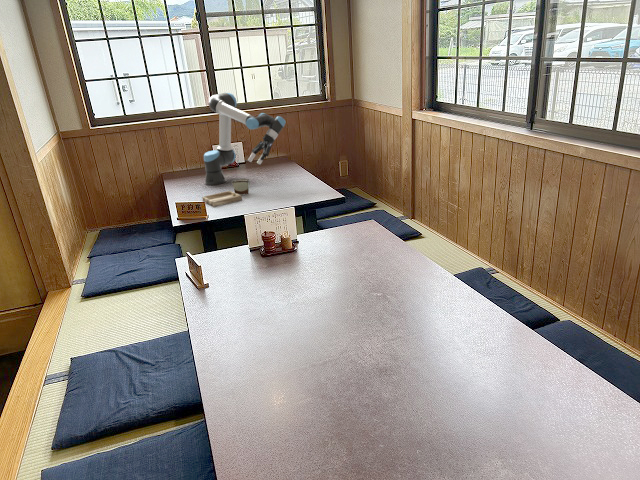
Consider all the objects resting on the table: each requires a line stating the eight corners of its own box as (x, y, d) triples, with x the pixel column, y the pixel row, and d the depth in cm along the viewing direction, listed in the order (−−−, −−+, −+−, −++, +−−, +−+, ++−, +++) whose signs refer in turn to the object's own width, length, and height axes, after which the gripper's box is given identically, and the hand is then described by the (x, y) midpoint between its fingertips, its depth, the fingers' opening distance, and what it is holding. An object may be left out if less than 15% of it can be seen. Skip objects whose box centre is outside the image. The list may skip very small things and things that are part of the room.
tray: (202, 201, 319) (202, 196, 318) (230, 194, 329) (229, 190, 328) (213, 206, 305) (212, 202, 304) (242, 200, 315) (241, 195, 314)
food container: (252, 191, 333) (250, 177, 330) (250, 194, 328) (248, 179, 324) (235, 192, 335) (233, 178, 331) (233, 194, 329) (231, 180, 325)
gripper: (283, 141, 324) (266, 167, 322) (265, 138, 344) (249, 163, 341) (275, 135, 319) (258, 161, 317) (258, 132, 339) (241, 157, 337)
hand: (253, 162), depth 329 cm, fingers open, 13 cm apart
